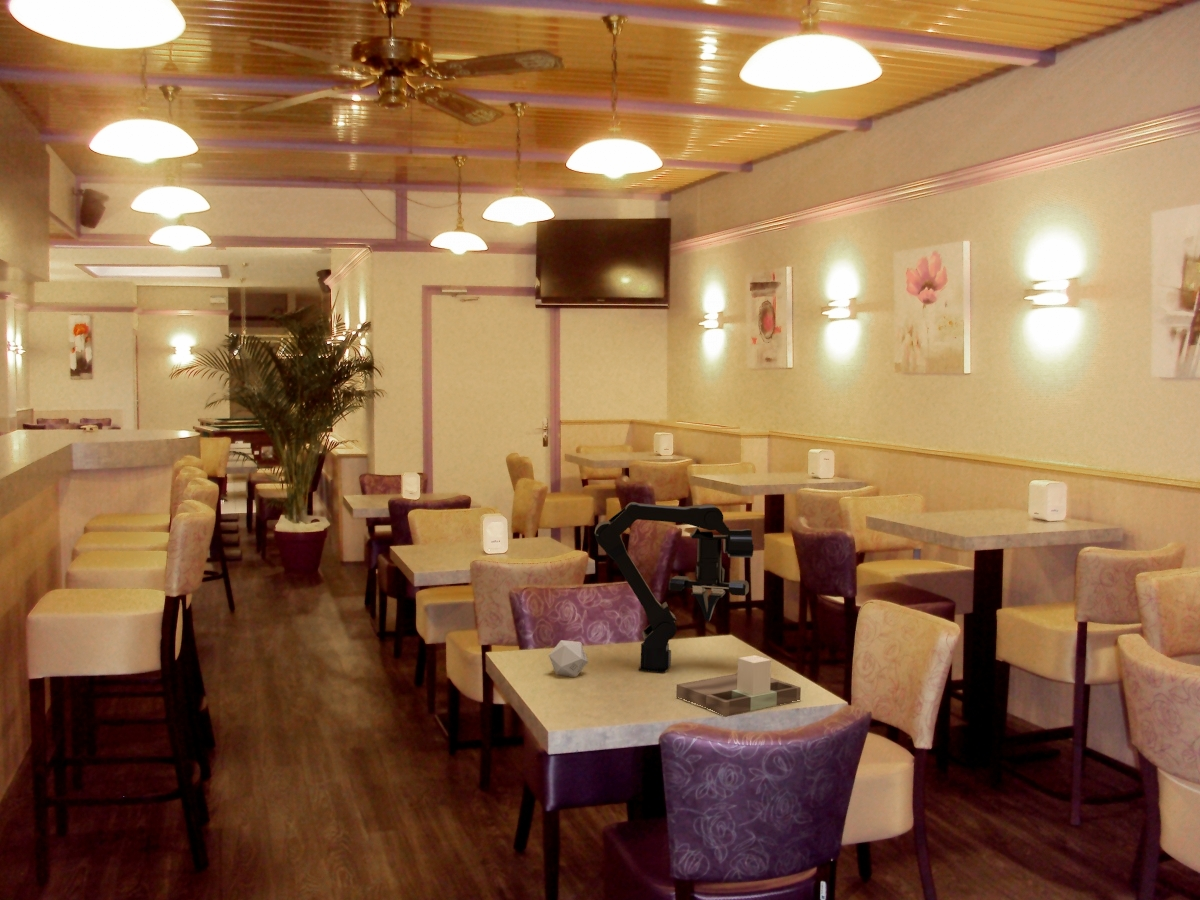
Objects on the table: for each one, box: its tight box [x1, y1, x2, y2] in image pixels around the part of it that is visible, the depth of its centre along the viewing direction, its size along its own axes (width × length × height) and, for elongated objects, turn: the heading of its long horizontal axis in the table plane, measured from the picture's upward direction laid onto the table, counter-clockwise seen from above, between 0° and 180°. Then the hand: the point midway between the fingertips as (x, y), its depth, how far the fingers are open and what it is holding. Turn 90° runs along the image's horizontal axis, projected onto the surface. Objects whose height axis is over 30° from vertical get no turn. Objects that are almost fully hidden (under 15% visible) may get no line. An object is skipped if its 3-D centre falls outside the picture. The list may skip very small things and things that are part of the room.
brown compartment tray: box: [675, 673, 802, 717], centre depth 239 cm, size 16×22×3 cm
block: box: [736, 654, 772, 695], centre depth 235 cm, size 5×5×7 cm
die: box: [548, 639, 589, 678], centre depth 258 cm, size 8×9×10 cm
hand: (707, 620), depth 264 cm, fingers closed
